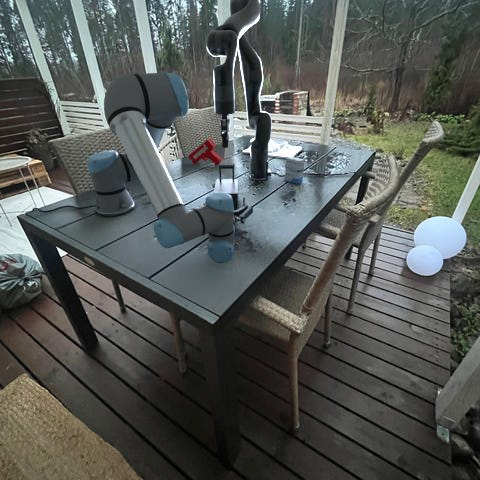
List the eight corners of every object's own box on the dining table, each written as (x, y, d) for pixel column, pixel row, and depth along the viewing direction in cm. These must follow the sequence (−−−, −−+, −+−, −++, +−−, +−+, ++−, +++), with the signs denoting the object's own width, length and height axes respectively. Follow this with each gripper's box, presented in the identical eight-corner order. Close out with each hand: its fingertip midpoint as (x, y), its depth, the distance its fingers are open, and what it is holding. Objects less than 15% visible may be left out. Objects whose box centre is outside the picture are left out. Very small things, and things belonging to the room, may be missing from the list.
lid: (216, 181, 119) (215, 162, 115) (238, 181, 119) (237, 162, 115) (213, 195, 106) (212, 175, 101) (237, 195, 106) (237, 175, 101)
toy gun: (225, 158, 166) (210, 137, 162) (223, 160, 163) (207, 139, 159) (205, 174, 176) (191, 154, 172) (202, 176, 173) (188, 156, 169)
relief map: (291, 159, 177) (291, 151, 174) (243, 153, 190) (243, 145, 187) (302, 149, 197) (303, 142, 194) (258, 144, 211) (258, 137, 208)
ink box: (302, 181, 142) (305, 159, 136) (297, 184, 139) (300, 161, 133) (289, 177, 147) (291, 156, 141) (284, 180, 144) (285, 158, 138)
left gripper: (187, 237, 92) (196, 209, 109) (261, 237, 91) (257, 209, 109) (184, 217, 87) (194, 191, 105) (261, 217, 87) (258, 191, 105)
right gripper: (215, 97, 105) (217, 140, 114) (212, 101, 93) (215, 149, 102) (234, 97, 105) (235, 140, 114) (234, 101, 93) (234, 149, 102)
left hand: (226, 200), depth 107 cm, fingers open, 13 cm apart
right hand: (225, 144), depth 108 cm, fingers open, 8 cm apart
